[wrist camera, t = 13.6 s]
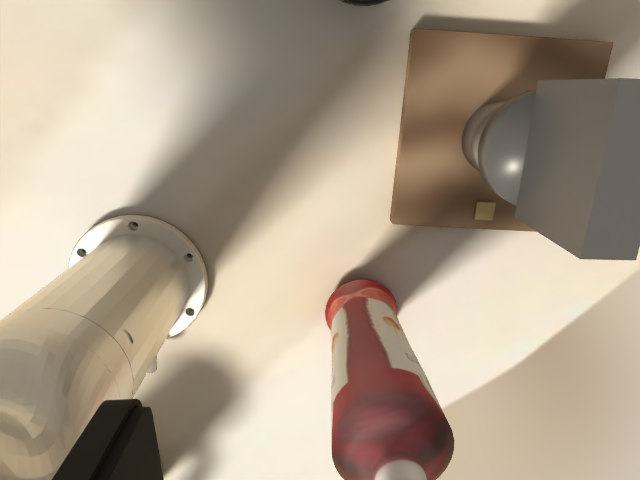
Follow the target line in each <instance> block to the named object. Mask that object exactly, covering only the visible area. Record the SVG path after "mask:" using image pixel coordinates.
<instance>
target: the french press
mask: <svg viewBox="0 0 640 480" xmlns="http://www.w3.org/2000/svg"><path fill="white" fill-rule="evenodd" d="M341 1H343V2H345V3H349V4H353V5H359V6H370V5H376V4H380V3H383V2H385V1H387V0H341Z"/></svg>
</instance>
